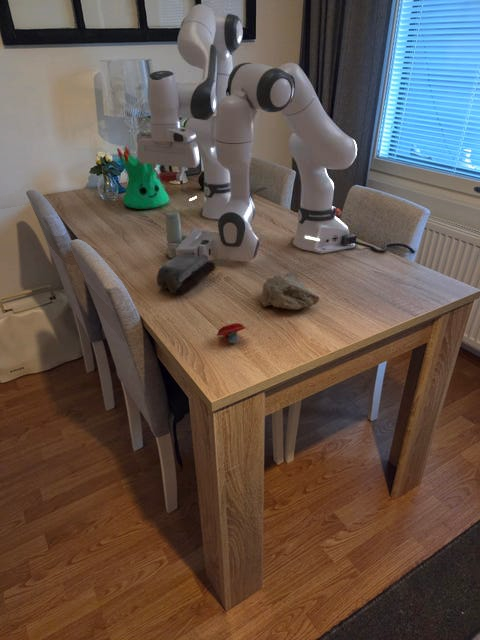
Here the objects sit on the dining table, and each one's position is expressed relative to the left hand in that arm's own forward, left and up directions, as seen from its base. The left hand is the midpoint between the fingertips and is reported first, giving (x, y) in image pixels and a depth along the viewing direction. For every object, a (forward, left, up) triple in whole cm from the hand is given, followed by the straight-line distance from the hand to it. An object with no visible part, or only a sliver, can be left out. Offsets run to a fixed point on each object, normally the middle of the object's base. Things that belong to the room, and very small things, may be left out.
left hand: (169, 179), depth 141 cm
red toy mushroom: (+21, +52, -26) cm, 62 cm away
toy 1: (-25, -56, -26) cm, 67 cm away
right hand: (+1, -1, -21) cm, 21 cm away
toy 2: (-63, -55, -26) cm, 87 cm away
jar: (0, 0, -26) cm, 26 cm away
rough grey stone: (-4, +47, -26) cm, 54 cm away
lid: (0, 0, +2) cm, 2 cm away
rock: (+11, +21, -26) cm, 35 cm away
